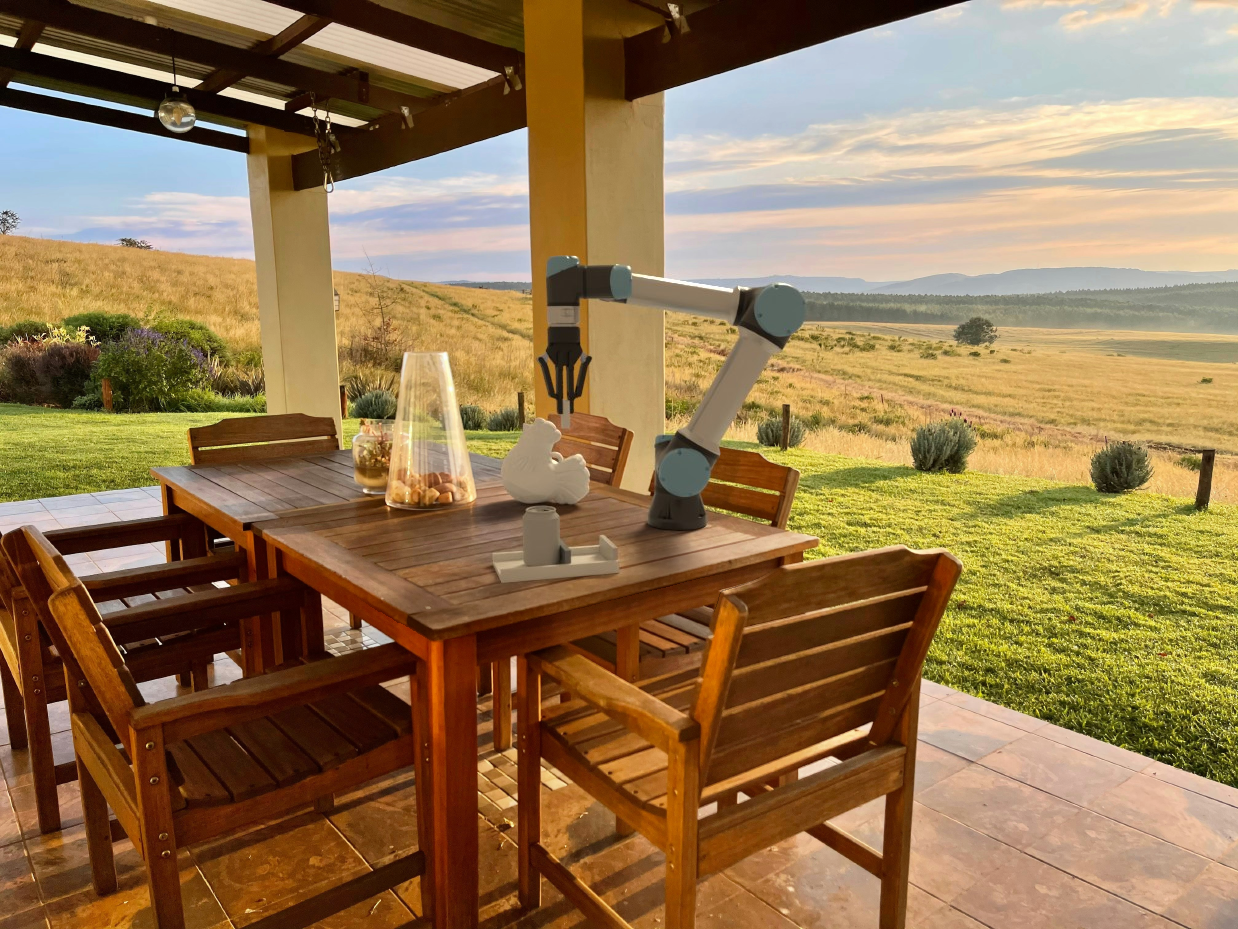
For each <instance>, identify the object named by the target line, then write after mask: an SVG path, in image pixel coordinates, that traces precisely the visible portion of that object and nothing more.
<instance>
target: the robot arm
mask: <svg viewBox="0 0 1238 929" xmlns="http://www.w3.org/2000/svg"><path fill="white" fill-rule="evenodd" d="M545 267H546V270H545V272H546V273H545V285H546V286H545V289H546V291H545V292H546V315H547V316H546V320H547V321H546V323H547V324H548V325H549V326H548V328H547V346H546V348H545V352H544V353H543V354H541V355H540V356H537V357H536V361H537V363H538V364H539V366H540V368H541V372H542V376H543V379H544V382H545V387H546V390H547V395H548V397H549V398H552V399H554V400H555V401H556V413H557V414H558V415H560V424H561V425H560V427H561V429H562V430H565V429H566V430H568V429H569V430H570V429H571V415H573V414H574V412H575V400H576V399H578V398H580V397H582V395H583V391H584V386H585V382H586V378H587V377H586V376H587V372H588V367H589V365H590V364H591V362H592V360H593V357H592V356H591V355H588V354H586V353H585V352H584V350H583V347H582V346H581V345H582V344H581V327H580V326H578V325H579V324H581V309H580V308H581V306H580V305H581V303H580V302H581V301H580V300H599V301H602V302H606V303H610V302H611V303H618V304H626V305H631V306H637V307H644V308H650V309H654V310H655V309H656V310H661V311H667V312H674V313H681V314H685V315H686V314H687V315H693V316H698V317H704V318H710V319H714V320H715V319H716V320H723V321H726V322H727V323H728V324H729V326H732V327H737V330H738V338H737V340H736V341H735V343H734V345H733V347H732V349H731V350H730V352H729V354H728V355H727V357H726V359H725V360H724V362H723V364H722V366H721V367H720V368H719V371H718V372H717V374H716V375H715V377H714V379H713V381H712V383H711V384H710V385H709V387H708V389H707V391H706V392H705V395H704V396H703V398H702V400H700V403H699V405H698V406H697V408H696V410H695V412H694V413H693V415H692V417H691V419H690V420H689V422H688V424H687V425H686V426H684V427H680V428H678V429H676V431H675V433H673V434H657V435H656V437H655V440H654V445H653V448H654V494H653V497H652V500H651V504H650V506H649V508H648V509H649V510H648V512H647V524H648V525H649V526H651V527H652V528H657V529H662V530H672V531H676V530H677V531H686V530H697V529H701V528H703V527H706V525H707V523H708V522H707V521H708V515H707V511H706V508H705V505H704V502H703V498H702V495H701V492H702V491H703V490H704V489H705V488H706V486H707V485H708V483H709V481H710V478H711V474H712V472H711V471H712V470H713V468H714V466H715V464H716V462H717V460H718V459H719V458H720V455H721V450H720V443H721V442H722V439H723V438H724V436H725V435H726V432H727V431H728V430H729V428H730V426H731V424H732V423H733V421H734V420H735V417H736V416H737V414H738V412H739V411H740V409H741V408H742V406H743V405H744V403H745V401H746V399H747V397H748V396H749V394H750V393H751V391H752V389H753V387H754V386H755V385H756V383H757V381H758V379H759V378H760V376H761V374H762V372H763V370H764V369H765V367H766V366H767V364H768V362H769V360H770V359H771V357H772V356H773V355H776V354H778V353H782V351H783V350H784V349H785V346H786V345H787V343H788V342H789V340H790V338H791V337H792V335H793V334H794V333H796V332H797V331H799V329H800V328H801V327H802V325H803V324H804V322H805V321H806V317H807V308H808V307H807V302H806V299H805V297H804V295H803V293H802V292H801V291H800V290H799V289H798V288H797V287H796V286H793V285H791V284H788V283H784V282H773V283H772V282H771V283H770V284H768V285H765V286H758V287H757V286H755V287H754V286H753V287H749V286H741V285H736V286H735V287H734V288H727V287H720V286H714V285H708V284H703V283H702V284H701V283H697V282H696V283H695V282H689V281H683V280H677V279H671V278H665V277H658V276H652V275H647V274H639V273H634V272H632V271H633V270H632V267H631V266H630V265H625V264H602V265H601V264H599V265H596V264H595V265H585V264H581V262H580V258H579V257H578V256H576V255H553V256H550V257H549V258H547V260H546V266H545ZM549 360H550V362H552V364H553V365H554V370H555V371H554V372H555V387H554V384H553V383H554V382H553V379H552V376H551V371H550V368H549V365H548V363H549ZM579 360H580V366H579V370H578V374H577V380H576V383H575V373H574V372H575V365H576V363H577V362H578V361H579ZM564 367H565V371H566V375H565V376H566V377H565V378H566V379H565V380H566V381H565V382H566V399H564Z"/></svg>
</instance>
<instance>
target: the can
mask: <svg viewBox="0 0 1238 929" xmlns="http://www.w3.org/2000/svg"><path fill="white" fill-rule="evenodd" d="M556 510H557V508H556V507H554V506H549V505H535V506H533V505H532V506H530V507H527V508H525V513H524V514H523V515H522V549H523V550H522V551H523V562H524V563H525V564H526V565H527V566H528V567H533V566H546V565H556V564H557V563H558V562H559V561H560V538H561V537H560V535H561V534H560V528H561V527H560V515H559V514H558V513H557V512H556Z"/></svg>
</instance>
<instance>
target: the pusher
mask: <svg viewBox="0 0 1238 929" xmlns="http://www.w3.org/2000/svg"><path fill="white" fill-rule="evenodd" d="M568 547H569V546H568V545H567V544H566V543H565V542H564V541H563V539H562V538H561V537H560V561H559V562H560V564H570V563H571V550H570V549H569V548H568Z"/></svg>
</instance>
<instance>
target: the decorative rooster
mask: <svg viewBox="0 0 1238 929" xmlns="http://www.w3.org/2000/svg"><path fill="white" fill-rule="evenodd" d="M561 438H562V433H561V431H560V430H559V429H557V426H556V425H555V423H553V422H552V421H550V420H546V419H544V418H543V417H536V418H535V419H534V421H533V423H532V424H529V423H526V422H523V423H522V433H521V435H520V437H519V439H518V440H517V444H516V445H514V446H513V447H512V448H511V449H509V451H508V452H507V454H506V456H505V457H504V459H503V461H502V462H501V468H500V477H501V480H502V486H503V489H505V491H506V492H507V493H508V494H509V495H510V496H511V498H513V499H515V500H516V501H518V502H521V503H524V504H529V505H530V504H532V505H533V504H538V503H545V502H549V501H554V502H555V503H558V504H559V505H565V504H568V505H575V504H576V503H578V502H579V501H581V499H584V498H585V497H586V495H588V493H589V492H590V486H589V484H590V476H591V474H590V471H589V469H588V467H586V466H587V462H586V460H585V459H584V457H583V455H582V454H580V453H577V454H573V455H570V456H568V457H566V458H564V457H563V455H562V454H561V453H560V452H557V451H552V450H553V447H554V445H555V444H556V443H557V442H559V441H561ZM553 457H555V458H557V460H558V461H556V460H554V459H552V458H553Z"/></svg>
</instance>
